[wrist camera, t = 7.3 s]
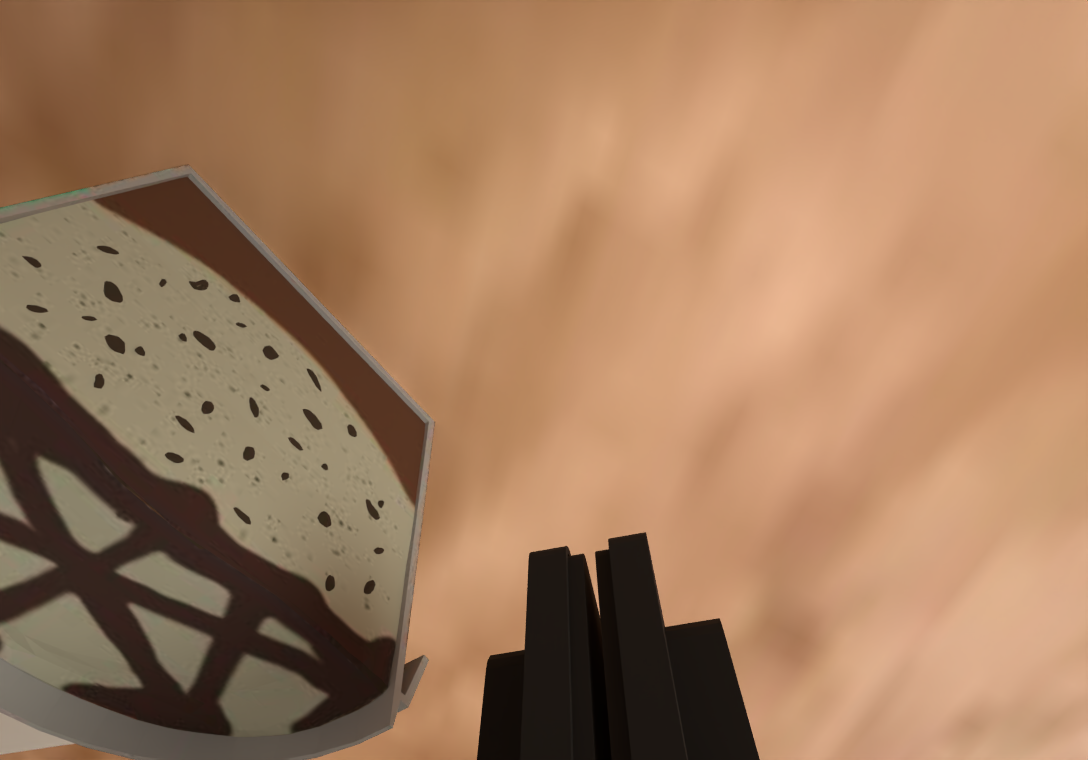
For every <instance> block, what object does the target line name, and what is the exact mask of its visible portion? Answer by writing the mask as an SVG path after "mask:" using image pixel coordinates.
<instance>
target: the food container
mask: <svg viewBox="0 0 1088 760" xmlns="http://www.w3.org/2000/svg"><path fill="white" fill-rule="evenodd" d="M434 426H435V422H434V421H433V420H432V419H431V418H430V417H429V415H428V414H427V413H426V412H425V411H424V410H423V409H422V408H421V407H420V406H419V405H418V404H417V403H416V402H415V401H414V400H413V399H412V398H411V397H410V396H409V395H408V394H407V392H406V391H405V390H404V389H403V388H402V387H401V386H400V385H399V384H398V383H397V382H396V381H395V380H394V379H393V378H392V377H391V376H390V375H389V374H388V373H387V372H386V371H385V369H384V368H383V367H382V366H381V365H380V364H379V363H378V362H377V361H376V360H375V359H374V358H373V357H372V356H371V355H370V354H369V353H368V352H367V351H366V350H365V349H364V348H363V346H362V345H361V344H360V343H359V342H358V341H357V340H356V339H355V338H354V337H353V336H352V335H351V334H350V333H349V332H348V331H347V330H346V329H345V328H344V327H343V326H342V325H341V323H340V322H339V321H338V320H337V319H336V318H335V317H334V316H333V315H332V314H331V313H330V312H329V311H328V310H327V309H326V308H325V307H324V306H323V305H322V304H321V303H320V302H319V300H318V299H317V298H316V297H315V296H314V295H313V294H312V293H311V292H310V291H309V290H308V289H307V288H306V287H305V286H304V285H303V284H302V283H301V282H300V281H299V280H298V279H297V277H296V276H295V275H294V274H293V273H292V272H291V271H290V270H289V269H288V268H287V267H286V266H285V265H284V264H283V263H282V262H281V261H280V260H279V259H278V258H277V257H276V256H275V254H274V253H273V252H272V251H271V250H270V249H269V248H268V247H267V246H266V245H265V244H264V243H263V242H262V241H261V240H260V239H259V238H258V237H257V236H256V235H255V234H254V233H253V231H252V230H251V229H250V228H249V227H248V226H247V225H246V224H245V223H244V222H243V221H242V220H241V219H240V218H239V217H238V216H237V215H236V214H235V213H234V212H233V211H232V210H231V208H230V207H229V206H228V205H227V204H226V203H225V202H224V201H223V200H222V199H221V198H220V197H219V196H218V195H217V194H216V193H215V192H214V191H213V190H212V189H211V188H210V187H209V186H208V184H207V183H206V182H205V181H204V180H203V179H202V178H201V177H200V176H199V175H198V174H197V173H196V172H195V171H194V170H193V169H192V168H191V167H190V166H189V165H184V166H180V167H176V168H171V169H167V170H163V171H158V172H154V173H150V174H145V175H141V176H136V177H132V178H128V179H123V180H119V181H115V182H110V183H106V184H102V185H97V186H93V187H89V188H84V189H80V190H76V191H71V192H67V193H62V194H58V195H54V196H49V197H45V198H41V199H36V200H32V201H28V202H23V203H19V204H15V205H10V206H6V207H1V208H0V713H3V714H5V715H7V716H9V717H11V718H13V719H15V720H17V721H20V722H22V723H24V724H26V725H28V726H30V727H32V728H34V729H37V730H39V731H41V732H44V733H47V734H50V735H53V736H55V737H58V738H61V739H64V740H67V741H70V742H72V743H75V744H78V745H81V746H84V747H86V748H90V749H94V750H98V751H102V752H106V753H110V754H114V755H118V756H122V757H126V758H130V759H135V760H306V759H312V758H317V757H320V756H323V755H326V754H329V753H333V752H336V751H339V750H342V749H345V748H348V747H351V746H354V745H357V744H360V743H362V742H364V741H366V740H368V739H370V738H372V737H375V736H377V735H379V734H381V733H383V732H385V731H387V730H389V729H391V728H393V725H394V722H395V718H396V714H397V712H400V711H402V710H404V709H406V708H408V707H409V705H410V702H411V700H412V698H413V696H414V693H415V691H416V689H417V686H418V684H419V682H420V679H421V677H422V675H423V672H424V670H425V668H426V665H427V663H428V661H429V660H428V659H427V658H426V656H425V655H423V656H421V657H419V658H417V659H415V660H412V661H410V662H408V663H406V664H404V663H405V655H406V647H407V639H408V632H409V624H410V616H411V608H412V600H413V592H414V584H415V576H416V568H417V560H418V553H419V545H420V537H421V529H422V521H423V513H424V505H425V497H426V489H427V481H428V474H429V466H430V458H431V450H432V442H433V434H434Z"/></svg>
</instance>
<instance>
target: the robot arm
mask: <svg viewBox="0 0 1088 760" xmlns="http://www.w3.org/2000/svg"><path fill="white" fill-rule="evenodd" d="M608 543H609V549H608V550H602V551H596V552H595V557H596V570H597V582H598V595H599V607H600V615H599V611H598V607H597V603H596V599H595V595H594V591H593V587H592V583H591V578H590V574H589V570H588V566H587V562H586V558H585V555H584V554H579V555H573V556H571V554H570V551H569V548H568V547H567V546H565V547H559V548H553V549H547V550H542V551H536V552H530V554H529V565H528V588H527V611H526V634H525V650H521V651H515V652H509V653H503V654H497V655H491V656H490V657H489V659H488V662H487V668H486V676H485V686H484V696H483V705H482V715H481V725H480V735H479V745H478V755H477V760H760V759H759V756H758V752H757V748H756V745H755V741H754V738H753V734H752V731H751V727H750V723H749V720H748V716H747V713H746V709H745V706H744V702H743V698H742V695H741V691H740V688H739V684H738V681H737V677H736V673H735V670H734V666H733V663H732V659H731V655H730V652H729V648H728V645H727V641H726V638H725V634H724V630H723V627H722V624H721V621H720V619H719V618H718V619H712V620H706V621H700V622H694V623H688V624H681V625H675V626H669V627H665V625H664V620H663V615H662V610H661V605H660V600H659V595H658V590H657V585H656V580H655V575H654V570H653V565H652V560H651V555H650V550H649V545H648V540H647V536H646V532H645V533H639V534H633V535H628V536H622V537H616V538H610V539H608Z"/></svg>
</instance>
